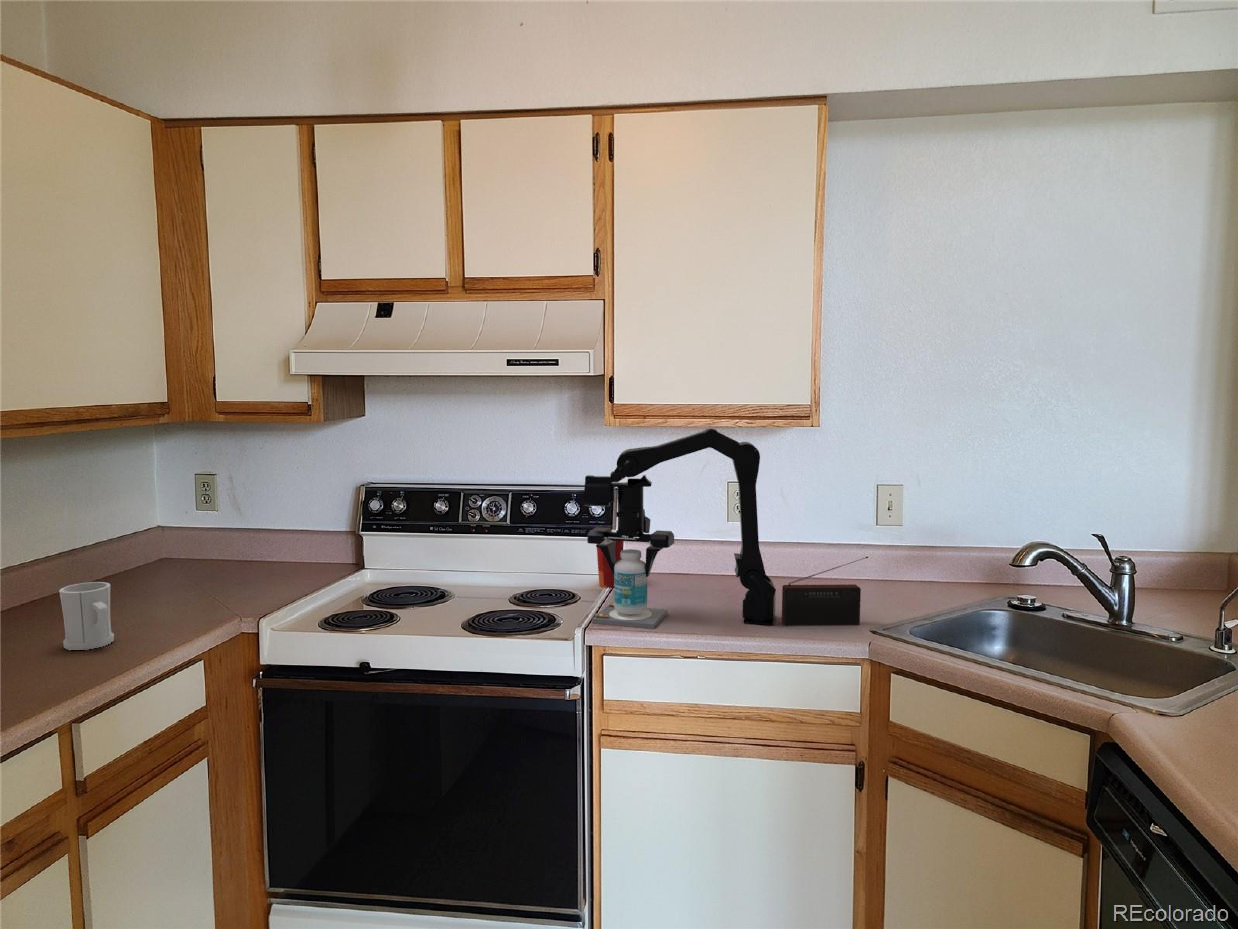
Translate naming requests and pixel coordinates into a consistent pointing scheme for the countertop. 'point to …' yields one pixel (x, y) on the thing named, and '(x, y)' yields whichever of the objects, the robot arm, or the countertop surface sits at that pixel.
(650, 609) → the plate
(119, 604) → the countertop surface
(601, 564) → the paper cup
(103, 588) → the cup
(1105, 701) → the countertop surface
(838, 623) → the radio
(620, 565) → the pill bottle
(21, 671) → the countertop surface
